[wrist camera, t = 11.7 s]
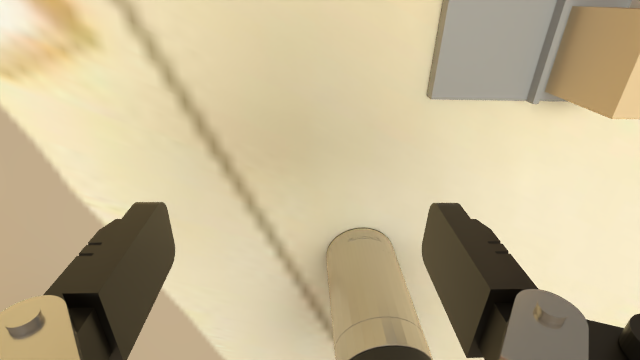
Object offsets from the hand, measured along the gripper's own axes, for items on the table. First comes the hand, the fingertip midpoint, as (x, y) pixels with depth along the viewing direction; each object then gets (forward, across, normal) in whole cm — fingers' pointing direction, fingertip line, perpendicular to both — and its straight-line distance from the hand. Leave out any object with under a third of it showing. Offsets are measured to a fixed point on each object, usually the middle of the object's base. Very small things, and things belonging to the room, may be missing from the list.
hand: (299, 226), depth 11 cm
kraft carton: (+27, -28, -2) cm, 38 cm away
